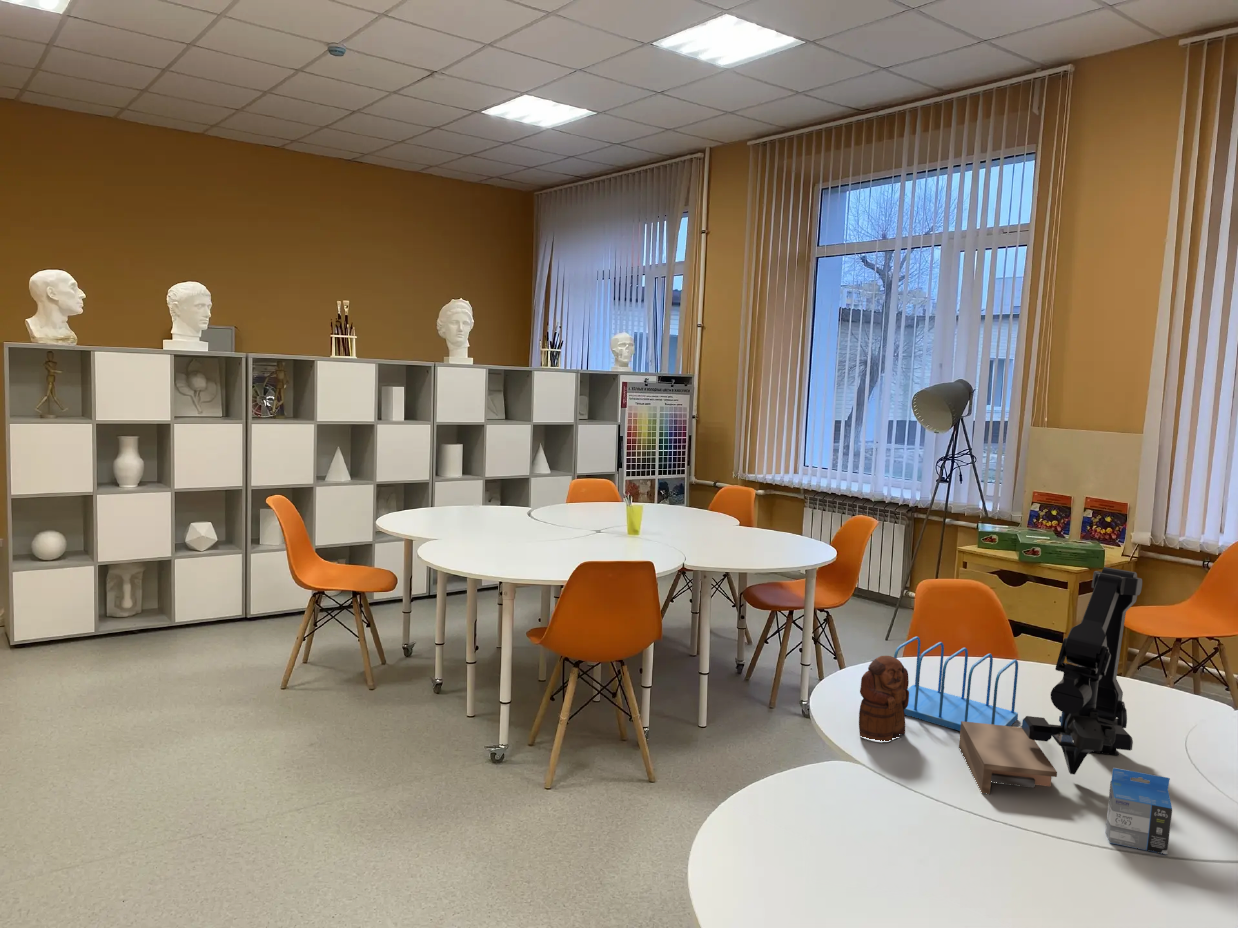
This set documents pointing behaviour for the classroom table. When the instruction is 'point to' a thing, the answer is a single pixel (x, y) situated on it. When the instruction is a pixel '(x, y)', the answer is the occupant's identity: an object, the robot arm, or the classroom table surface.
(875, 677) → the wooden figurine
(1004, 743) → the low shelf
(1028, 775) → the pink slab with nub
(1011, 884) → the classroom table surface
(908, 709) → the file sorter
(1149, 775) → the label tape box
